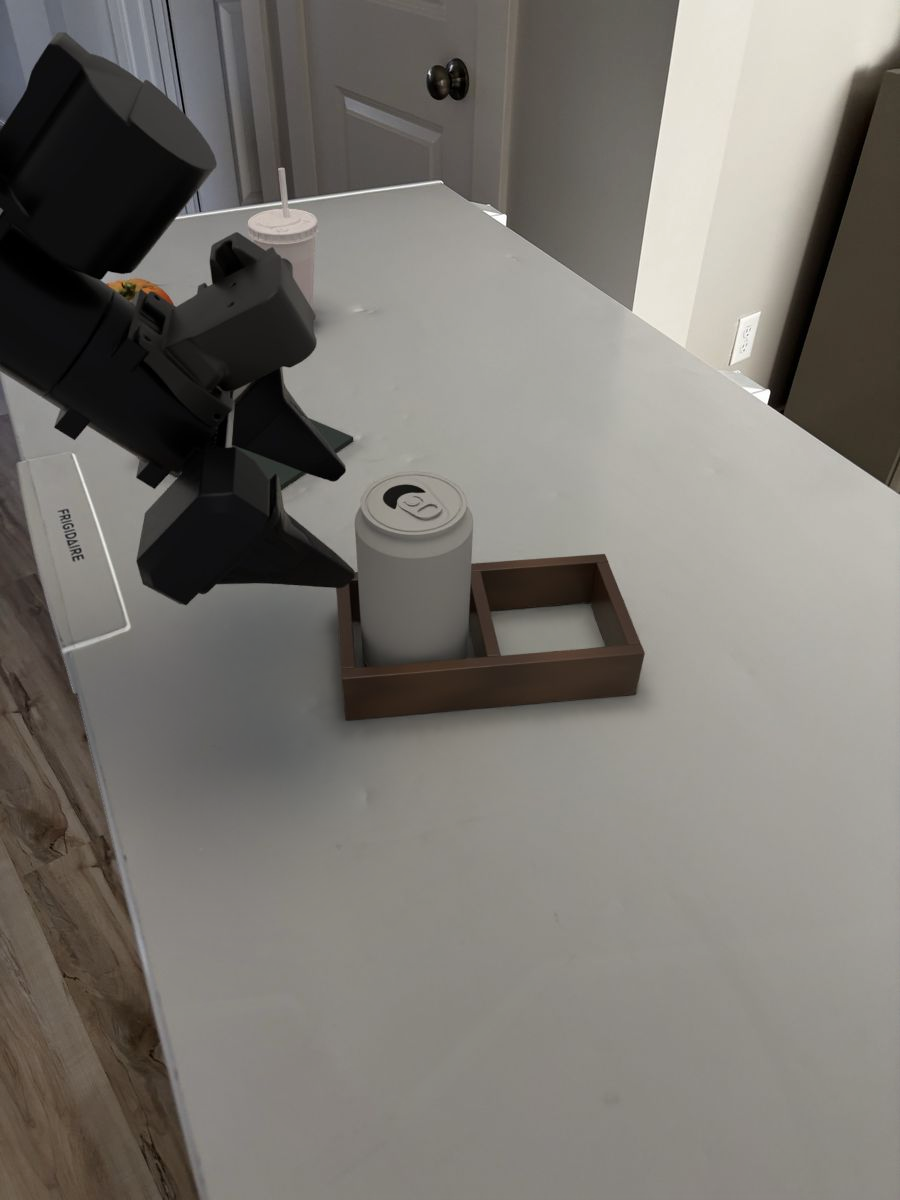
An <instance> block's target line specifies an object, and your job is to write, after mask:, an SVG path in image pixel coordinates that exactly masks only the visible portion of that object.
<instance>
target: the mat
mask: <svg viewBox="0 0 900 1200" xmlns="http://www.w3.org/2000/svg"><path fill="white" fill-rule="evenodd" d="M308 419H309V420H310V421H311V422H312V423H313V425H314V426H315V427H316V429H317V430H318V431H319V432H320V434H321V435H322V436H323V438H324V439H325V440H326V441H327V443H328V444H329V445H330V447H331V448H332V449H333V450H334V452H335V453H336V454H337V452H339V451H341V450H342V449H343V448H345V447H346V446H348V445H350V444H351V443H352V442H354V436H352V435H350V434H348V433H345V432H343V431H340V430H339V429H335V428H333V427H331V426H329V425H326V424H324V423H322V422H319V421H317V420H315V419H312V418H309V417H308ZM232 447H236V446H233V445H232ZM236 448H238V449H239V450H241V451H242V452H244V453H245V454H246V455H248V456H249V457H251V458H252V459H254V460H255V461H256V462H257V463H258V465H259V466H260V468H261V469H262V470H263V472H264V473H265V475H266V476H267V477H268V479H269V480H270V479H271V478H272V477H273V476H274V475H275V474H277V475H278V476H279V479H280V486H281V490H283V489H284V488H286V487H287V486H289V485H290V484H292V483H294V482H295V481H296V480H297V479H299V478H301V477H302V476H304V475H305V474H306V473H304V472H302V471H299V470H297V469H294V468H291V467H289V466H286V465H283V464H281V463H278V462H276V461H273V460H270V459H268V458H265V457H263V456H260V455H257V454H255V453H252V452H249V451H247V450H245V449H241V448H239V447H236ZM169 474H170V475H172V476H174V477H176V478H178V477H179V476H180V475H181V474H182V472H181V473H179V474H175V473H173V472H172V471H171V472H170V473H169Z"/></svg>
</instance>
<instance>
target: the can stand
mask: <svg viewBox="0 0 900 1200" xmlns="http://www.w3.org/2000/svg"><path fill="white" fill-rule="evenodd" d="M335 591H336V604H337V605H336V607H337V608H336V609H337V623H338V640H339V657H340V670H341V671H340V672H341V673H340V674H341V685H342V696H343V706H344V707H343V708H344V718H345V720H346V721H351V720H352V721H353V720H364V719H376V718H386V717H387V718H388V717H398V716H408V715H409V716H410V715H420V714H421V715H422V714H430V713H431V714H432V713H441V712H451V711H452V712H453V711H463V710H476V709H486V708H497V707H507V706H508V707H509V706H519V705H521V706H522V705H530V704H540V703H541V704H542V703H552V702H553V703H554V702H563V701H564V702H565V701H573V700H585V699H596V698H607V697H618V696H620V697H621V696H631V695H636V694H637V691H638V687H639V682H640V677H641V673H642V669H643V664H644V659H645V655H646V653H645V650H644V647H643V645H642V642H641V640H640V638H639V635H638V633H637V630H636V628H635V626H634V623H633V620H632V617H631V615H630V612H629V610H628V607H627V605H626V603H625V600H624V598H623V596H622V592H621V591H620V588H619V585H618V583H617V580H616V578H615V575H614V573H613V570H612V568H611V566H610V563H609V560H608V557H607V555H606V554H605V553H598V554H597V553H596V554H585V555H569V556H556V557H555V556H554V557H544V558H543V557H542V558H528V559H515V560H502V561H489V562H488V561H487V562H475V563H474V562H473V563H472V562H471V583H470V604H469V626H468V627H469V630H470V635H471V640H472V645H473V651H474V655H475V657H470V658H469V657H468V658H466V659H457V660H445V661H433V662H421V663H409V664H397V665H385V666H373V667H368V666H362V667H356V655H355V642H354V632H353V622H361V617H360V601H359V585H358V571H355V578H354V579H353V580H352V581H351V582H350V583H349V584H347V585H346V586H345V587H343V588H335ZM578 604H590V607H591V609H592V612H593V615H594V617H595V621H596V623H597V625H598V629H599V631H600V634H601V637H602V639H603V643H604V645H605V646H601V647H588V648H578V649H577V648H575V649H567V650H566V649H565V650H553V651H542V652H529V653H517V654H516V653H515V654H505V655H504V654H503V655H501V651H500V646H499V643H498V639H497V638H498V637H497V635H496V630H495V625H494V622H493V621H494V620H493V617H492V614H491V613H492V612H491V611H501V610H512V609H513V610H514V609H526V608H538V607H551V606H552V607H553V606H565V605H578Z"/></svg>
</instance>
